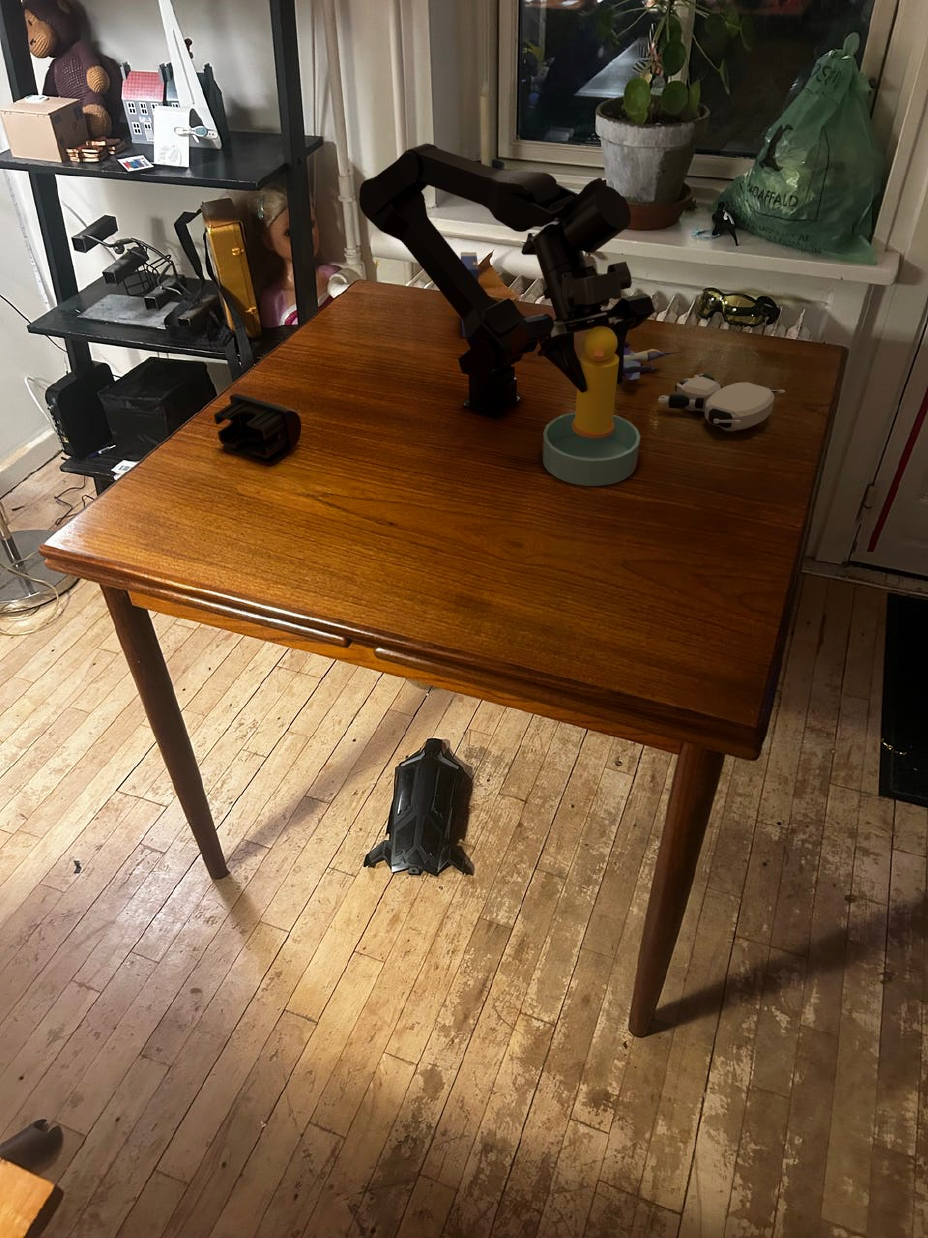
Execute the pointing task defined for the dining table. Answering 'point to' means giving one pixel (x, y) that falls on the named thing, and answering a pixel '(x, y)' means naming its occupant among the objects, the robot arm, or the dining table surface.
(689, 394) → the robot toy
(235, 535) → the dining table surface
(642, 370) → the toy airplane
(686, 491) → the dining table surface
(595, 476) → the pan
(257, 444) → the end cap
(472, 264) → the walkman
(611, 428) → the duck toy
